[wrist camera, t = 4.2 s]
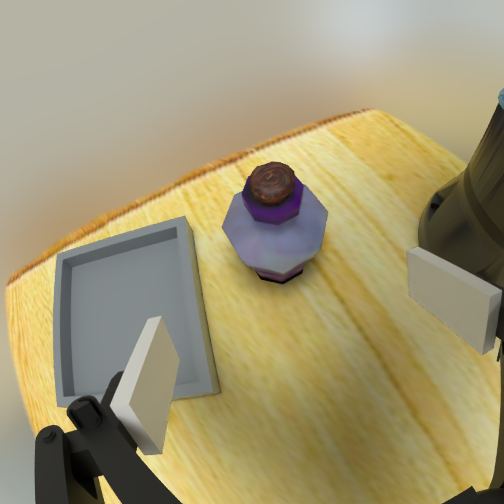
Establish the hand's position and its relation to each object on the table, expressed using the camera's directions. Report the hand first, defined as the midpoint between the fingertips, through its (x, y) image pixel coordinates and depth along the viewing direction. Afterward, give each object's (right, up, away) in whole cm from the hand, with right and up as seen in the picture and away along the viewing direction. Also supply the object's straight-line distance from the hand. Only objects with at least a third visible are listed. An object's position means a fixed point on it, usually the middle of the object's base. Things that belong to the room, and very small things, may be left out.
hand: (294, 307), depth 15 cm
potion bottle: (0, +2, +16) cm, 16 cm away
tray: (-14, -4, +14) cm, 21 cm away
